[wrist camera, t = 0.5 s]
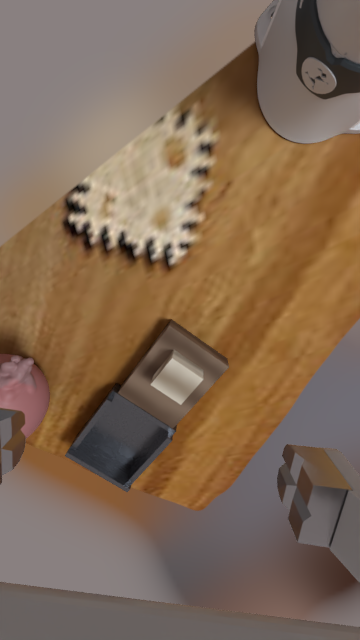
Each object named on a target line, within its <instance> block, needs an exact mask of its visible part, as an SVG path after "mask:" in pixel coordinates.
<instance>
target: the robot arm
mask: <svg viewBox="0 0 360 640" xmlns="http://www.w3.org/2000/svg"><path fill="white" fill-rule="evenodd" d="M271 17H272V19H271ZM255 41H256V46H257V50H258V54H259V67H258V76H257V93H258V99H259V104H260V107H261V110H262V113H263V115H264V117H265V119H266V120H267V122H268V123H269V125H270V126H271V127H272V128H273V129H274V130H275V131H276V132H277V133H278V134H279V135H281V136H282V137H284V138H286V139H288V140H290V141H293V142H297V143H316V142H321V141H324V140H327V139H329V138H332V137H334V136H336V135H339V134H343V133H350V134H357V133H360V0H273V2H272V3H271V4H270V5H269V6H268V7H267V9H266V10H265V11H264V12H263V13H262V14H261V16H260V17H259V19H258V21H257V24H256V26H255ZM24 425H25V414H24V413H23V412H22V411H19V410H12V409H5V408H0V484H1V483H2V475H4V474H6V473H7V472H9V471H11V470H13V469H14V467H15V466H16V465H17V464H18V462H19V461H20V458H21V456H22V454H23V452H24V448H25V435H24V434H23V432H22V431H21V428H22V427H23V426H24ZM282 456H283V458H284V460H285V462H286V463H285V464H284V465H282V466H281V467H280V468H279V472H278V477H277V483H278V492H279V496H280V499H281V502H282V504H283V505H284V506H285V507H286V508H287V509H288V510H290V512H289V516H288V520H289V522H290V525H291V527H292V530H293V532H294V535H295V537H296V540H297V542H298V543H304V544H310V545H316V546H323V547H329V548H330V550H331V551H332V552H333V554H334V555H335V556H336V557H337V558H338V559H339V560H340V561H341V562H342V564H343V565H344V566H345V567H346V568H347V569H348V570H349V571H350V572H351V574H352V575H353V576H354V577H355V578H356V579H357V580H358V581H359V583H360V475H359V474H358V473H357V472H356V470H355V469H354V468H353V467H352V465H351V464H350V463H349V462H348V460H347V459H346V458H345V457H344V455H343V454H342V453H341V452H340V451H338V450H337V449H330V448H315V447H306V446H296V445H288V444H287V445H286V446H285V448H284V451H283V455H282ZM0 640H360V627H354V626H346V625H339V624H331V623H322V622H315V621H307V620H299V619H291V618H283V617H275V616H267V615H258V614H251V613H243V612H234V611H227V610H218V609H211V608H203V607H194V606H186V605H179V604H170V603H163V602H154V601H146V600H139V599H131V598H123V597H115V596H107V595H99V594H92V593H84V592H76V591H68V590H60V589H52V588H44V587H36V586H27V585H20V584H11V583H4V582H0Z"/></svg>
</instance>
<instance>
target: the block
mask: <svg viewBox="0 0 360 640" xmlns="http://www.w3.org/2000/svg"><path fill="white" fill-rule="evenodd" d="M202 380H203V369H201V368H200V367H198V366H197V365H196V364H194V363H193V362H191V361H190V360H188V359H187V358H185V357H184V356H182V355H181V354H180V353H178V352H177V351H175V350H173V351H172V353H171V354H170V355H169V356H168V358H167V359H166V360H165V361H164V363H163V364H162V365H161V366H160V368H159V369H158V370H157V371H156V373H155V374H154V375H153V378H152V382H151V386H153V387H155V388H156V389H158V390H159V391H161V392H162V393H164V394H165V395H167V396H168V397H170V398H171V399H173V400H174V401H176V402H177V403H179V404H180V405H181V404H182V403H183V402H184V401H185V400H186V399H187V397H188V396H189V395H190V394H191V393H192V392H193V391H194V389H195V388H196V387H197V386H198V385H199V384H200V383H201V382H202Z"/></svg>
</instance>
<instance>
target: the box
mask: <svg viewBox="0 0 360 640" xmlns="http://www.w3.org/2000/svg"><path fill="white" fill-rule="evenodd" d="M120 388H121V385H119V384H117V383H116V384H115V386H114V387H113V388H112V390H111V391H110V392H109V394H108V395H107V396H106V398H105V399H104V400H103V402H102V403H101V404H100V406H99V407H98V408H97V410H96V411H95V412H94V414H93V415H92V416H91V418H90V419H89V420H88V422H87V423H86V424H85V426H84V427H83V428H82V430H81V431H80V432H79V434H78V435H77V436H76V438H75V440H74V441H73V443H72V445H71V446H70V448H69V450H68V451H67V453H66V455H65V456H66V457H68V458H70V459H71V460H73V461H75V462H76V463H78V464H80V465H82V466H83V467H85V468H87V469H88V470H90V471H92V472H94V473H95V474H97V475H99V476H100V477H102V478H104V479H105V480H107V481H109V482H111V483H112V484H114V485H116V486H118V487H119V488H121V489H123V490H124V491H126V492H128V491H129V490H130V487H131V484H132V483H133V482H134V481H135V480H136V479H137V478H138V477H139V476H140V475H141V474H142V472H143V471H144V470H145V469H146V468H147V467H148V466H149V465H150V464H151V463H152V462H153V461H154V460H155V458H156V457H157V456H158V455H159V454H160V453H161V452H162V451H163V450H164V449H165V448H166V447H167V446H168V444H169V443H170V442H171V441H172V437H173V434H174V433H175V432H176V427H177V425H176V426H175V427H174V428H171V427H170V426H168V425H166V424H165V423H163V422H162V421H160V420H159V419H157V418H155V417H154V416H152V415H151V414H149V413H148V412H146V411H145V410H143V409H141V408H140V407H138V406H137V405H135V404H134V403H132V402H130V401H129V400H127V399H126V398H124V397H123V396H121V395H120V394H118V392H119V390H120Z"/></svg>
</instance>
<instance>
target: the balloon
mask: <svg viewBox="0 0 360 640" xmlns="http://www.w3.org/2000/svg"><path fill="white" fill-rule="evenodd" d="M33 363H34V360H33V358H22V357H21V356H19V355H11V354H0V408H5V409H12V410H19V411H22V412H23V413H24V414H25V425H24V426H23V427H22V428H21V431H22V432H23V434H24V435H25V439H26V438H27V437H28V436H30V435H31V434H32V433H33V432H34V431H35V430H36V428H37V427H38V426H39V425H40V423H41V422H42V420H43V418H44V416H45V414H46V412H47V409H48V405H49V399H50V392H49V386H48V382H47V380H46V378H45V376H44V374H43V373H42V371H41V370H40V369H39V368H38V367H37V366H36V365H35V364H33Z"/></svg>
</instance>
